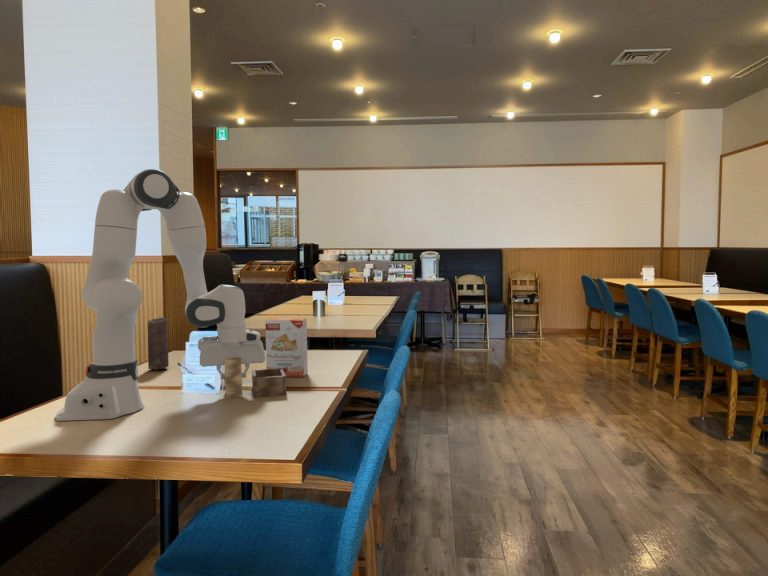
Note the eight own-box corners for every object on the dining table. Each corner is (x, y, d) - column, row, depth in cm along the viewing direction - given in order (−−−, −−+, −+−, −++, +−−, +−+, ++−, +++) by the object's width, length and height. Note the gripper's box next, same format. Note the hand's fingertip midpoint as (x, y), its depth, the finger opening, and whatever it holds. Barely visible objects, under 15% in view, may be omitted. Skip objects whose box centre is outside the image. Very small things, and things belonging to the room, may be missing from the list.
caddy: (254, 397, 175) (253, 378, 174) (252, 387, 187) (251, 369, 187) (286, 394, 177) (285, 376, 177) (282, 385, 190) (282, 367, 189)
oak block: (225, 397, 175) (224, 359, 174) (226, 391, 183) (224, 355, 182) (242, 396, 176) (241, 358, 175) (241, 390, 184) (240, 354, 183)
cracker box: (266, 377, 202) (264, 319, 201) (271, 373, 208) (269, 317, 207) (304, 377, 201) (302, 319, 199) (308, 373, 207) (306, 317, 205)
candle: (173, 368, 219) (171, 318, 218) (156, 372, 213) (154, 320, 212) (160, 367, 223) (158, 317, 222) (144, 370, 217) (142, 319, 216)
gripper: (197, 338, 172) (198, 383, 173) (264, 335, 178) (266, 377, 179) (198, 335, 178) (199, 378, 179) (263, 332, 184) (265, 373, 185)
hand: (233, 378), depth 179 cm, fingers closed on oak block, 5 cm apart
